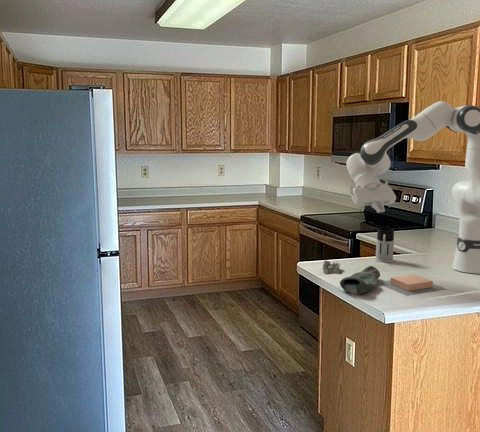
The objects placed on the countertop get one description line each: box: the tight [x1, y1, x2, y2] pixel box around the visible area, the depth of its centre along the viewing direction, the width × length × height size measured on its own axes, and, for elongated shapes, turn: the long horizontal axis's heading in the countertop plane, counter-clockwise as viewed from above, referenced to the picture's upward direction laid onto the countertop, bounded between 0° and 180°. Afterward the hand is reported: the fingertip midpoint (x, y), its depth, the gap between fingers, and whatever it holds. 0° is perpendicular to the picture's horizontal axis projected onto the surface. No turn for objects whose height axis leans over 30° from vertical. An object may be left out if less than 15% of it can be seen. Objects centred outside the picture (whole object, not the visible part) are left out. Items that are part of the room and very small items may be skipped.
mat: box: [376, 279, 448, 297], centre depth 198 cm, size 20×18×1 cm
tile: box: [390, 274, 434, 291], centre depth 197 cm, size 12×3×10 cm
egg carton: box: [322, 259, 341, 275], centre depth 220 cm, size 10×7×4 cm
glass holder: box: [374, 227, 395, 264], centre depth 236 cm, size 9×14×15 cm, turn 160°
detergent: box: [339, 265, 381, 296], centre depth 197 cm, size 13×7×25 cm
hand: (381, 211), depth 211 cm, fingers closed
